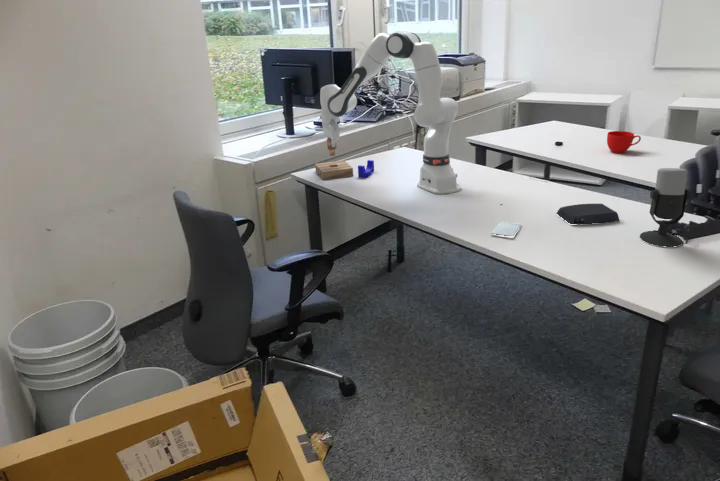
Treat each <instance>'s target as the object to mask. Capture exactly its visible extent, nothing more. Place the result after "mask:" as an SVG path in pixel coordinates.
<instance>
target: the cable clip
mask: <svg viewBox="0 0 720 481" xmlns="http://www.w3.org/2000/svg"><path fill="white" fill-rule="evenodd" d="M365 167H366V168H365ZM374 172H375V161H374V160H372V159H368V160H367V162H366V166H365V165H358V166H357V175H358V178H363V179H368V178H369V177H371V176H372V174H373V173H374Z"/></svg>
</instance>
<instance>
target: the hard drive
mask: <svg viewBox="0 0 720 481" xmlns="http://www.w3.org/2000/svg"><path fill="white" fill-rule="evenodd" d="M521 225H522V224H520V223H513V222H507V221H499V223H498V224H497V225H496V226H495V228H494V229H493V231H492V232H491V233H490V235H491V234H496V235H504V236H514V235H515V233H516V232H517V231H518V229H519V228H520V227H521V228H522V226H521ZM521 228H520V229H521Z"/></svg>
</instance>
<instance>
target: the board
mask: <svg viewBox="0 0 720 481" xmlns="http://www.w3.org/2000/svg"><path fill="white" fill-rule="evenodd" d="M314 166H315V172H316V174H319V175H320V176H319V175H318V176H319V177H320V178H321V179H322V180H323V179H324V180H330V179H329V178H331V179H337V178H338V179H339V178H344V177H352V176H354V168H353V167H352V166H351V165H350V164H349V163H348V162H346V160H337V161H328V162H322V163H321V162H319V163H315V165H314Z"/></svg>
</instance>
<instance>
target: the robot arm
mask: <svg viewBox="0 0 720 481" xmlns="http://www.w3.org/2000/svg"><path fill="white" fill-rule="evenodd" d="M391 57H394V58H397V59H410V60H411V61H412V64H413V68H414V72H415V77H416V83H417V88H418V100H417V105H416V108H415V110H414V113H413V117H414V118H413V119H414V121H415V122H416V125H417V126H419V127H423V128H428V130H427V132H426V134H425V136H424V138H423V139H424V140H423V155H422V163H423V164H422V166H421V167H420V170H419V182H417V183H416V187H418V188H420V189H423V190H426V191H428V192H429V193H431V194H434V195H442V194H444V195H446V194H451V193H457V192H459V191H462V186H461V185H460V184H459V183H458V182H457V178H458V172H455V171H454V168H453V167H452V166H451V161H450V153H449V140H450V133H451V130H452V125H453V122H454V120H455V118H456V117H457V115H458V113H459V104H458V102H457V101H456V100H455V99H454V98H453V97H452V98H451V97H441V89H442V86H443V84H444V78H443V75H442V69H441V64H440V60H439V57H438V54H437V51H436V48H435V46H434V44H433V43H432V42H430V41H422V40H421V38H420V36H418V35H417V34H416V33H414V32H410V31H394V32H392V33H391V34H390V35H389V34H388V33H386V32H379V33H378V34H377V35H376V36H375V37H374V38H373V39H372V40H371V41H370V42H369V44H368V45H367V46H366V48H365V50H363V53H362V54H361V56H360V58H359V60H358V62H357V63H356V65H355V67H354V68H353V70H352V72H351V73H350V75H349V76H348V77H347V79H346V80H345V82H344V83H343V85H341V87H339V86H338V85H337V84H335V83H331V84H327V85H324V86H323V85H322V86H321V88H320V92H319V94H320V95H319V96H320V98H319V100H320V102H319V103H320V106H321V110H320V116H319V117H320V120H321V124H322V131H323V133H324V135H326V136H327V138H331V146H332V147H335V142H336V143H337V141H339V140H340V129H339V128H340V127H339V124H338V123H339V122H340V117H343V116H344V115H345V114H347V113H349V112H351V111H353V110H354V109H355V108H356V107H357V104H358V98H357V96H356V94H355V93H356V92H357V90H358V89H359V87H360V86H361V85H363V84H364V83H365V82H366V81H368V80H369V79H372V78H373V77H375V76H377V74H378V73H380V72H381V71H382V69H383V68H384V67H385V65H386V64H387V62H388V61H389V59H390V58H391ZM327 138H326V139H327Z"/></svg>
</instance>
